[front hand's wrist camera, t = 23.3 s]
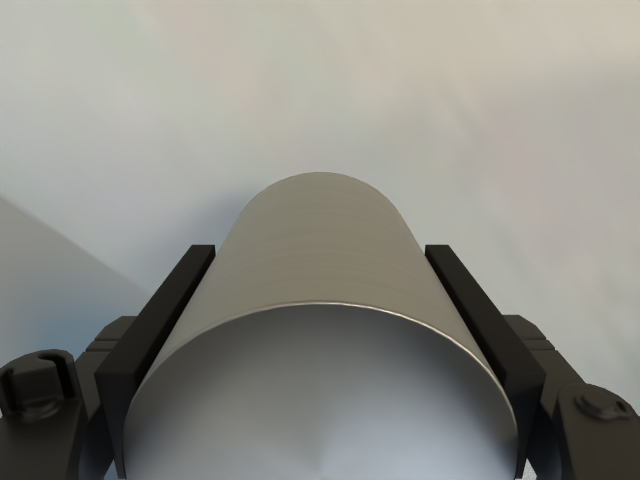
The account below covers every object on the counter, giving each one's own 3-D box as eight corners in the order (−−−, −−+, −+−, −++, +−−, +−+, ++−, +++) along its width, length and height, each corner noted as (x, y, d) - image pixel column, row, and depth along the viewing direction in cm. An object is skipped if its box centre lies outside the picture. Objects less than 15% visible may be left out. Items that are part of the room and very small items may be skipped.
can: (451, 241, 16) (607, 438, 7) (340, 368, 18) (360, 638, 9) (294, 131, 14) (256, 211, 6) (194, 283, 16) (56, 509, 8)
